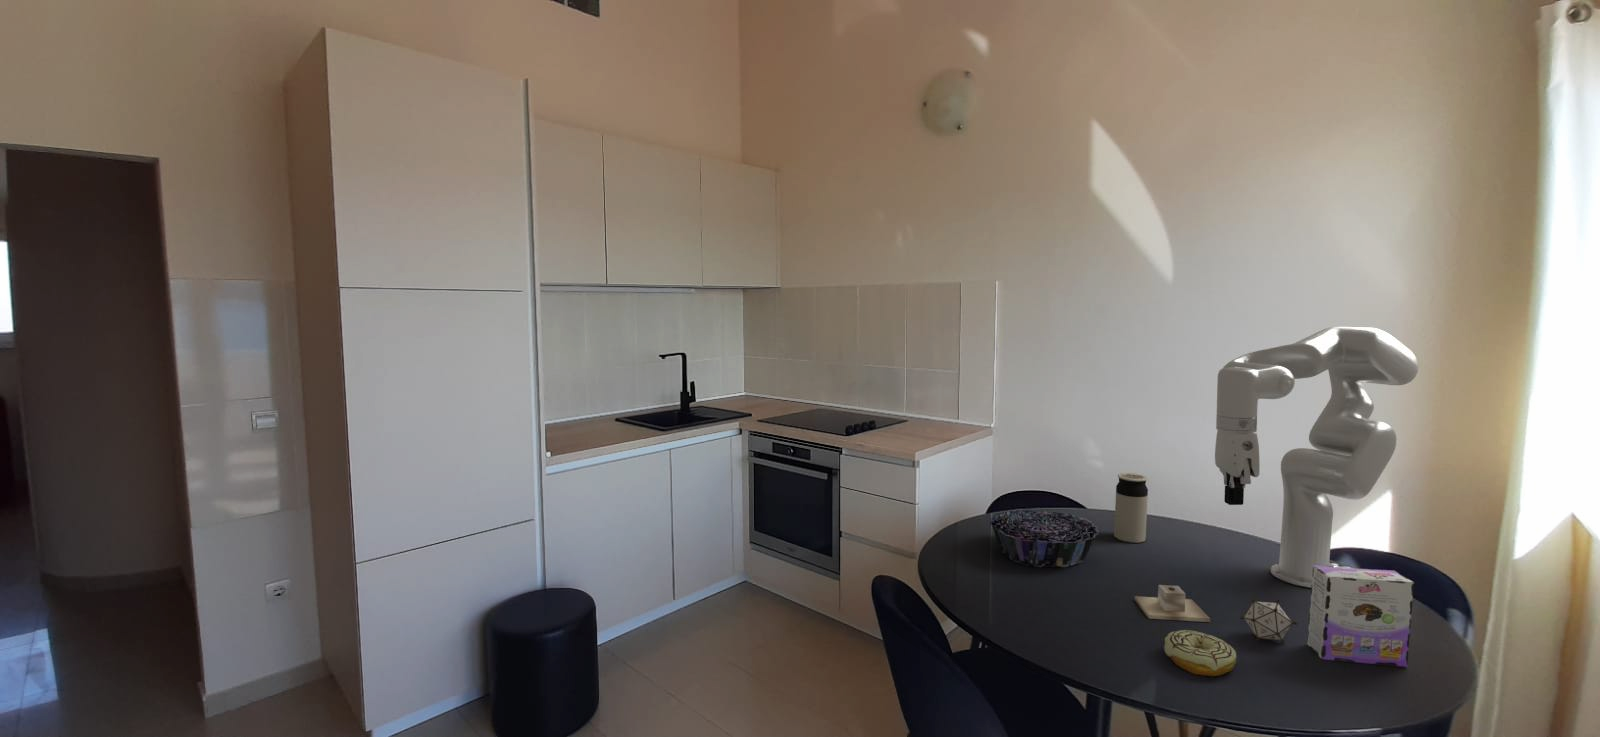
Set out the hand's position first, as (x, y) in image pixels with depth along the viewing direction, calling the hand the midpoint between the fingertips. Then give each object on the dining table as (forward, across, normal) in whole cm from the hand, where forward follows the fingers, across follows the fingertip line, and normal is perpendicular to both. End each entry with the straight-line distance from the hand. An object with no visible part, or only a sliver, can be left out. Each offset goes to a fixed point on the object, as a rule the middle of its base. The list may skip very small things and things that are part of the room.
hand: (1233, 503), depth 149 cm
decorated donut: (+21, -30, +20) cm, 42 cm away
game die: (+21, -20, +3) cm, 29 cm away
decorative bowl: (+21, +22, +36) cm, 48 cm away
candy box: (+22, -25, -10) cm, 34 cm away
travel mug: (+22, +36, +9) cm, 43 cm away
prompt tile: (+21, -9, +17) cm, 28 cm away
